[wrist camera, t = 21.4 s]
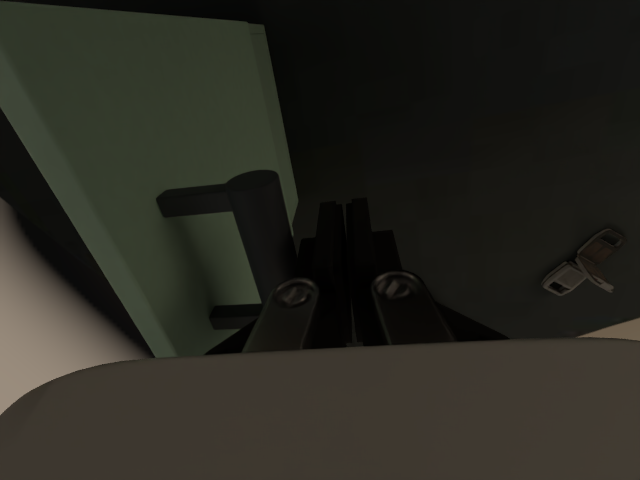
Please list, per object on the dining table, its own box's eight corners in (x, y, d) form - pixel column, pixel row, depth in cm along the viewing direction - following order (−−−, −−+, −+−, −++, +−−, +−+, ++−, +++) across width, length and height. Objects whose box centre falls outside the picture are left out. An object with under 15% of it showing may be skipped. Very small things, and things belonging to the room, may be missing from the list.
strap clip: (556, 292, 38) (579, 320, 34) (537, 282, 37) (557, 309, 33) (626, 238, 33) (660, 263, 30) (604, 225, 33) (637, 249, 29)
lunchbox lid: (212, 450, 14) (322, 452, 13) (-66, 5, 6) (182, -50, 5) (284, 234, 28) (338, 230, 27) (235, 23, 20) (309, 10, 19)
